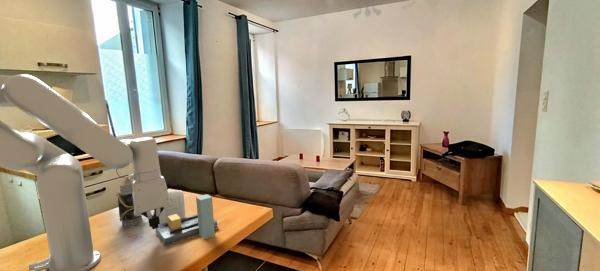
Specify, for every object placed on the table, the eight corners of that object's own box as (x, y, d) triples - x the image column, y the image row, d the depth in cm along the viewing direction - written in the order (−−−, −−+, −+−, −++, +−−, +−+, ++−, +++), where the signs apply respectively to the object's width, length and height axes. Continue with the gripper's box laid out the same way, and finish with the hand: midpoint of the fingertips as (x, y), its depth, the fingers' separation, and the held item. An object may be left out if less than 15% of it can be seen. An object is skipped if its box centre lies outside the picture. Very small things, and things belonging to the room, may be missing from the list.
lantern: (139, 216, 113) (132, 157, 110) (149, 221, 109) (142, 159, 105) (115, 225, 106) (107, 161, 102) (125, 230, 101) (117, 164, 98)
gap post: (203, 239, 94) (200, 200, 92) (199, 235, 97) (196, 196, 95) (214, 235, 96) (212, 197, 94) (210, 231, 99) (207, 194, 97)
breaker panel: (165, 245, 90) (164, 237, 90) (156, 232, 99) (155, 224, 99) (217, 228, 102) (217, 220, 101) (205, 217, 111) (204, 210, 110)
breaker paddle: (172, 230, 95) (171, 220, 94) (168, 225, 99) (167, 216, 98) (181, 227, 97) (180, 218, 96) (177, 222, 101) (176, 213, 100)
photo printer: (184, 216, 113) (182, 186, 111) (186, 219, 109) (184, 189, 108) (156, 222, 107) (153, 192, 106) (157, 227, 104) (154, 195, 102)
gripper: (122, 183, 83) (131, 240, 86) (175, 172, 92) (181, 223, 95) (119, 178, 89) (127, 231, 92) (168, 168, 98) (174, 216, 101)
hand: (154, 227), depth 93 cm, fingers closed
